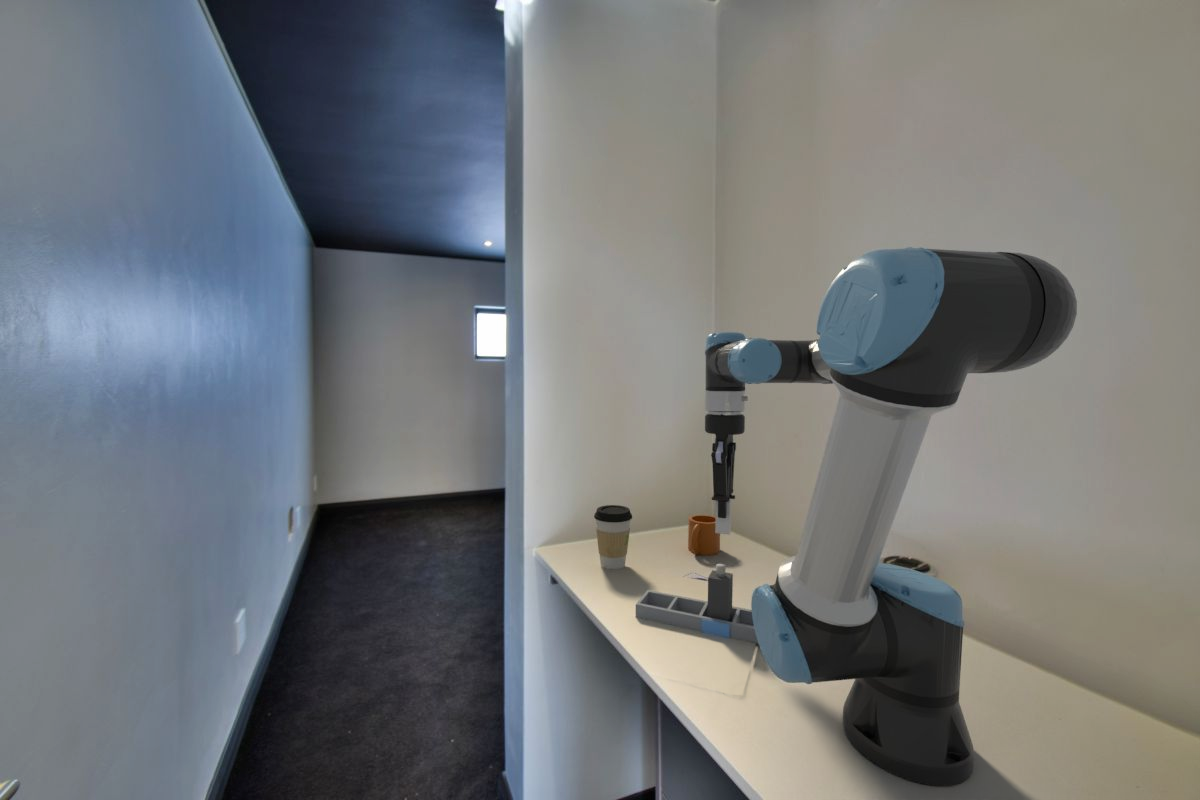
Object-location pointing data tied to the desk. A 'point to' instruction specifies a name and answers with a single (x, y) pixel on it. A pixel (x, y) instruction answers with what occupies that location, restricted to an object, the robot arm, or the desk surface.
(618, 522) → the coffee cup
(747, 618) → the compartment organizer tray
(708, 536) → the mug
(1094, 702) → the desk surface
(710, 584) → the grey block with peg
